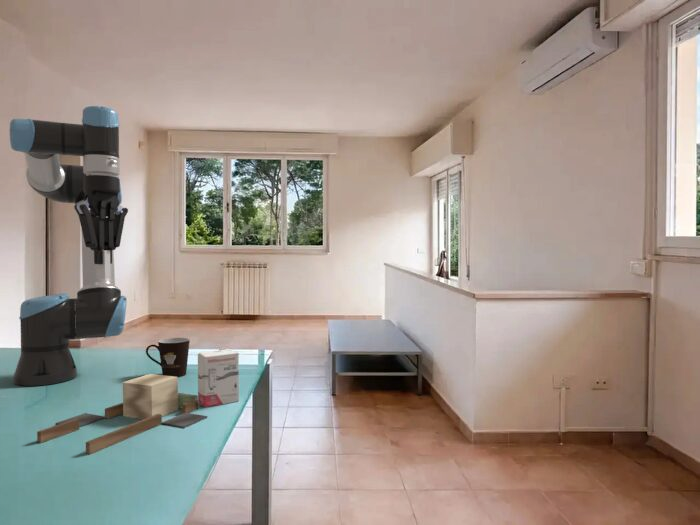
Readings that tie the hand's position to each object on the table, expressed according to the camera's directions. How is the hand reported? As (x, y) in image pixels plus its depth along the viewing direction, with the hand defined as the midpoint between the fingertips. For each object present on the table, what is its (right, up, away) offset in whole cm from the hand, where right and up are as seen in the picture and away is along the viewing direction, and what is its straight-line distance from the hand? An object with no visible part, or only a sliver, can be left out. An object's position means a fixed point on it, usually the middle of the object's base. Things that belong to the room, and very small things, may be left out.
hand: (103, 278), depth 119 cm
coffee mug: (+5, -29, +29) cm, 41 cm away
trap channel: (+11, -30, -13) cm, 34 cm away
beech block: (+13, -30, -5) cm, 33 cm away
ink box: (+26, -30, +2) cm, 39 cm away
